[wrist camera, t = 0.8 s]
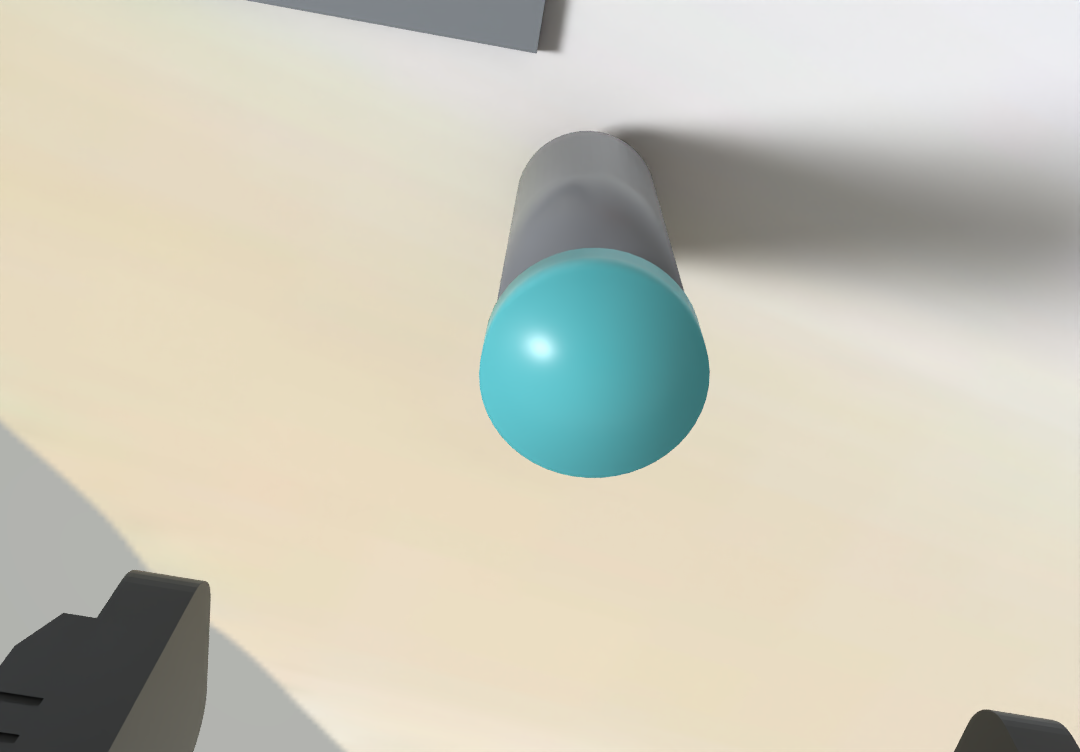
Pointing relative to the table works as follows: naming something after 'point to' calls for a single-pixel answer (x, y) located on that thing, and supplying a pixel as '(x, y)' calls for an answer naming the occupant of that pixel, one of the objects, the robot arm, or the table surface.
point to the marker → (591, 317)
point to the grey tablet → (442, 17)
